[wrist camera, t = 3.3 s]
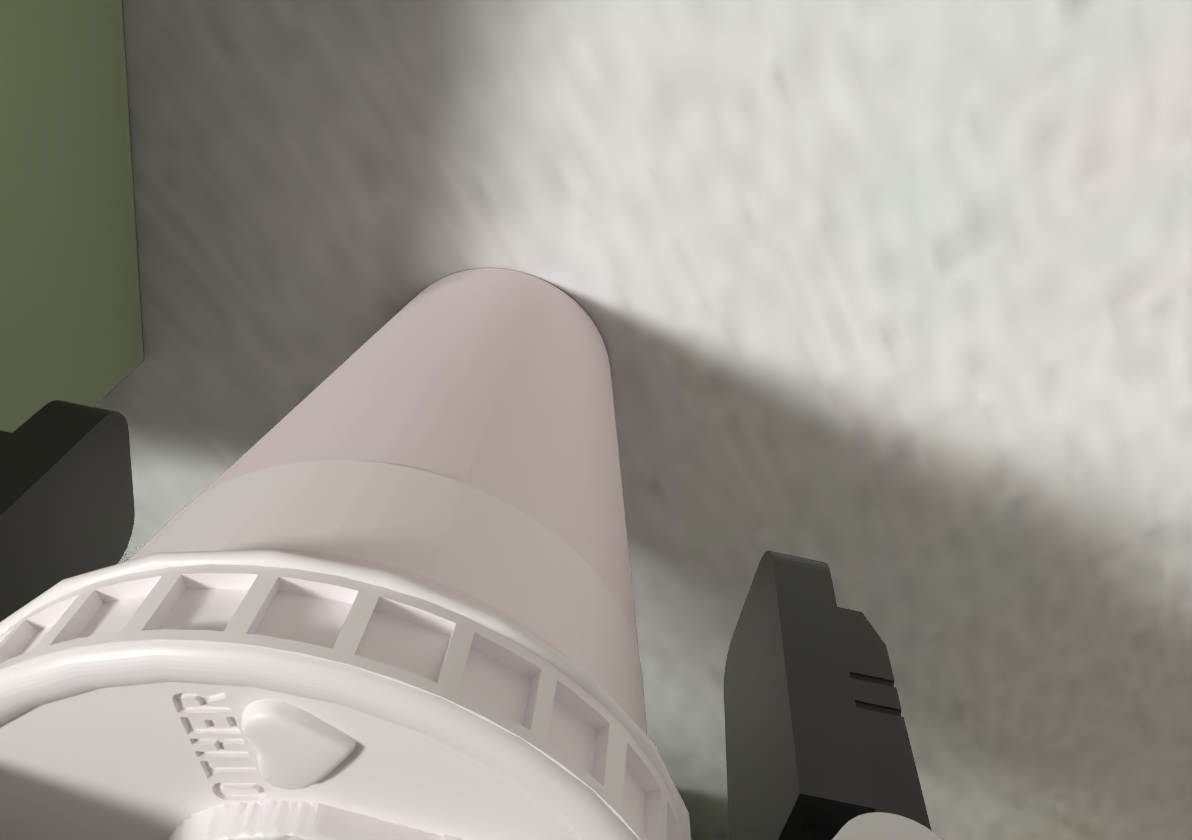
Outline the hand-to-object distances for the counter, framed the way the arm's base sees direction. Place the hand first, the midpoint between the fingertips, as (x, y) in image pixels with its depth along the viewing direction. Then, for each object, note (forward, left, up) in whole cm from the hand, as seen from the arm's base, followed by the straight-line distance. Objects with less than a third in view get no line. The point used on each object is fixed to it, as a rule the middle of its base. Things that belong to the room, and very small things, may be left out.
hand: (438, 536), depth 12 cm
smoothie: (0, 0, -5) cm, 5 cm away
